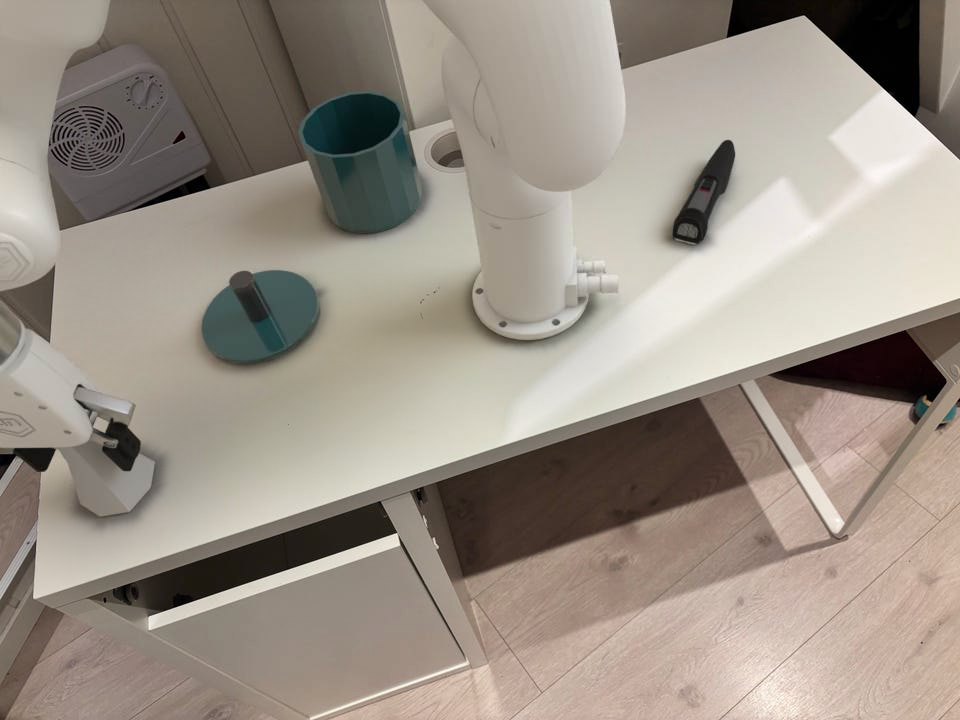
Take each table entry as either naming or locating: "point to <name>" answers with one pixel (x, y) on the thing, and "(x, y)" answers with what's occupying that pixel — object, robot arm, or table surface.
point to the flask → (106, 479)
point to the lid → (259, 316)
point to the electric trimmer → (705, 196)
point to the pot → (362, 161)
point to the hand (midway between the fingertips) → (90, 457)
